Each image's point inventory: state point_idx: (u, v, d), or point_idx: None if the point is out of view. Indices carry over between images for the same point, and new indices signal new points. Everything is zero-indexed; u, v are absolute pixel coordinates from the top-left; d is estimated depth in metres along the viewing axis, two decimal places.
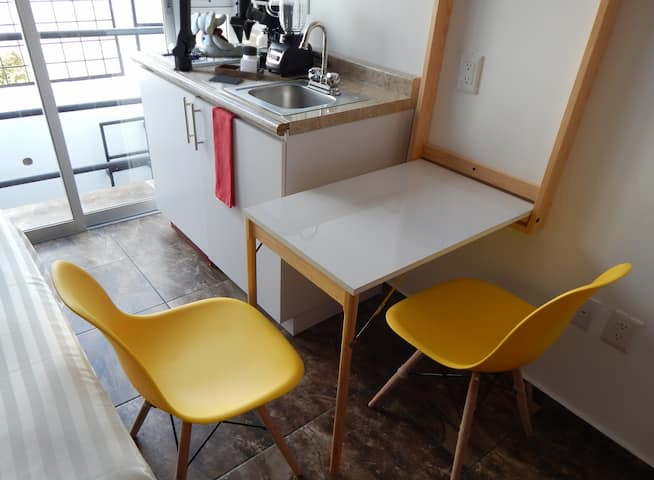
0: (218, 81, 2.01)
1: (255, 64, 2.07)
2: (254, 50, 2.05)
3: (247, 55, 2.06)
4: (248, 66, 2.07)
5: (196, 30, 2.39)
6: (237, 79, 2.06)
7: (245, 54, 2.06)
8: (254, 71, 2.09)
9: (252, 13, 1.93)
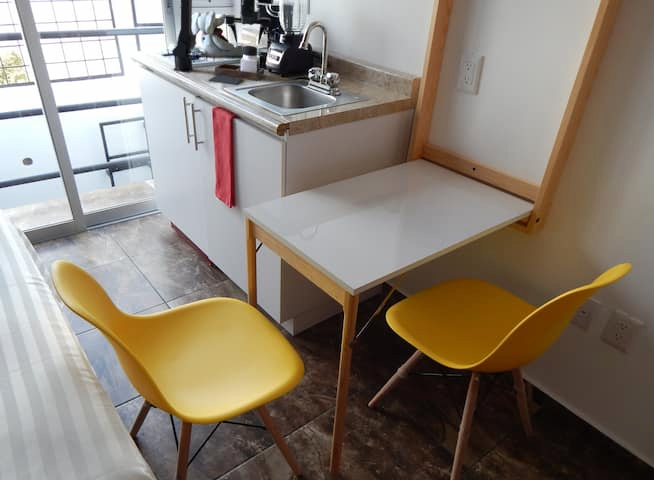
0: (218, 81, 2.01)
1: (255, 64, 2.07)
2: (254, 50, 2.05)
3: (247, 55, 2.06)
4: (248, 66, 2.07)
5: (196, 30, 2.39)
6: (237, 79, 2.06)
7: (245, 54, 2.06)
8: (254, 71, 2.09)
9: (241, 14, 1.94)
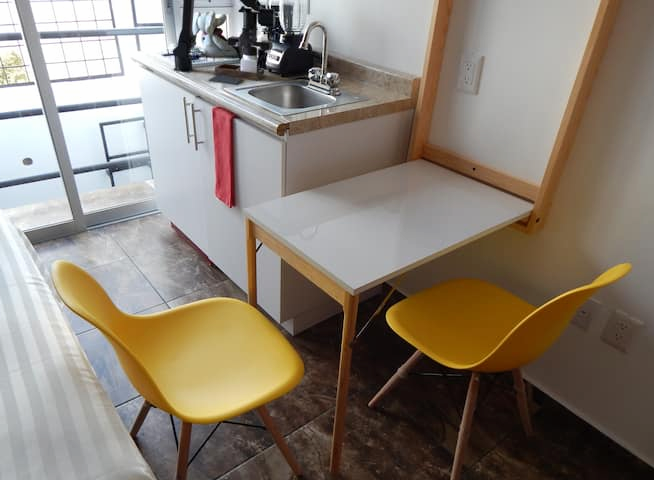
0: (218, 81, 2.01)
1: (255, 64, 2.07)
2: (254, 50, 2.05)
3: (247, 55, 2.06)
4: (248, 66, 2.07)
5: (196, 30, 2.39)
6: (237, 79, 2.06)
7: (245, 54, 2.06)
8: (254, 71, 2.09)
9: None
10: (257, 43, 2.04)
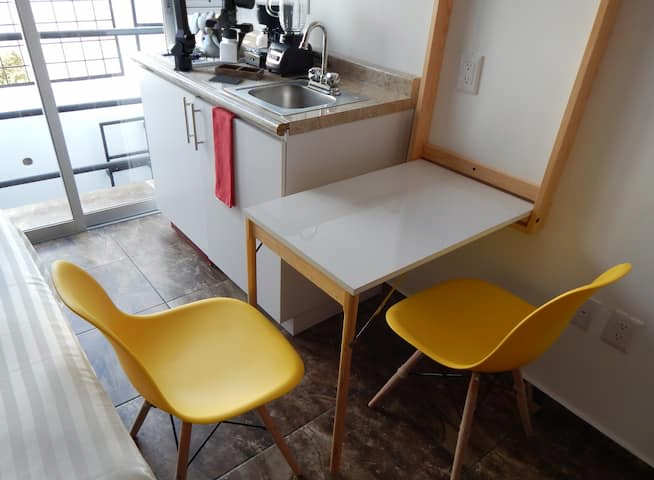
0: (218, 81, 2.01)
1: (235, 48, 1.96)
2: (234, 33, 1.94)
3: (226, 38, 1.95)
4: (228, 49, 1.96)
5: (196, 30, 2.39)
6: (237, 79, 2.06)
7: (224, 37, 1.95)
8: (234, 55, 1.98)
9: None
10: (237, 25, 1.93)
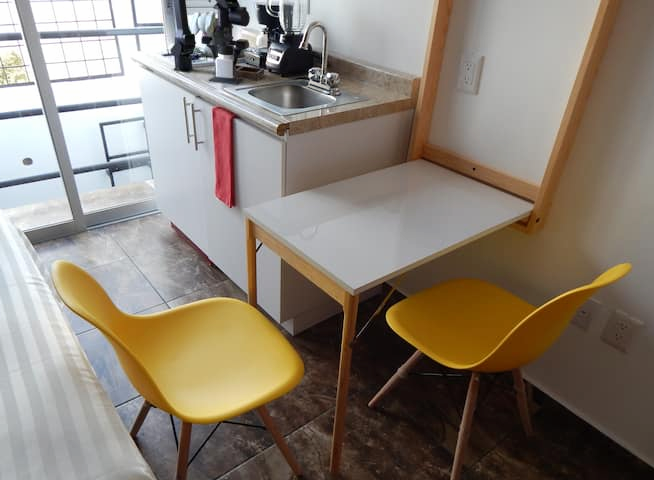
0: (218, 81, 2.01)
1: (231, 64, 1.98)
2: (230, 49, 1.96)
3: (222, 54, 1.96)
4: (224, 65, 1.98)
5: (196, 30, 2.39)
6: (237, 79, 2.06)
7: (220, 53, 1.97)
8: (230, 71, 1.99)
9: None
10: (233, 42, 1.95)
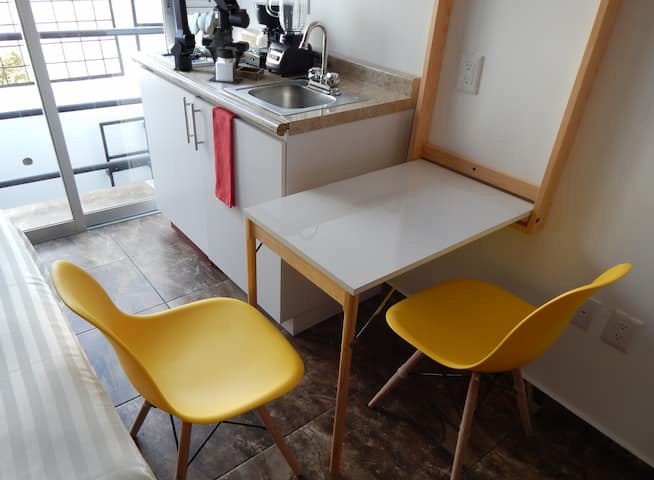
0: (218, 81, 2.01)
1: (231, 67, 1.99)
2: (230, 53, 1.97)
3: (222, 58, 1.97)
4: (224, 69, 1.99)
5: (196, 30, 2.39)
6: (237, 79, 2.06)
7: (220, 57, 1.97)
8: (230, 75, 2.00)
9: None
10: (233, 44, 1.96)
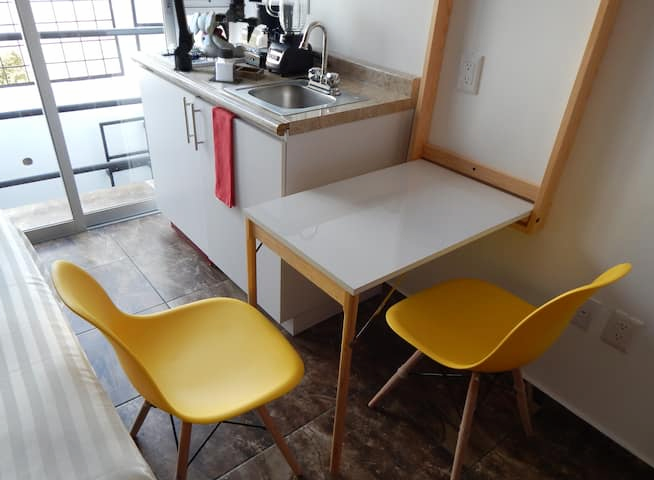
0: (218, 81, 2.01)
1: (231, 67, 1.99)
2: (230, 53, 1.97)
3: (222, 58, 1.97)
4: (224, 69, 1.99)
5: (196, 30, 2.39)
6: (237, 79, 2.06)
7: (220, 57, 1.97)
8: (230, 75, 2.00)
9: None
10: (245, 19, 2.03)
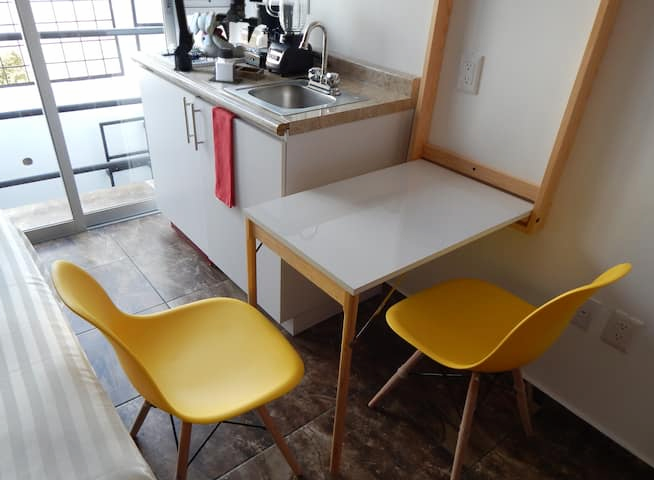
0: (218, 81, 2.01)
1: (231, 67, 1.99)
2: (230, 53, 1.97)
3: (222, 58, 1.97)
4: (224, 69, 1.99)
5: (196, 30, 2.39)
6: (237, 79, 2.06)
7: (220, 57, 1.97)
8: (230, 75, 2.00)
9: None
10: (245, 19, 2.04)
